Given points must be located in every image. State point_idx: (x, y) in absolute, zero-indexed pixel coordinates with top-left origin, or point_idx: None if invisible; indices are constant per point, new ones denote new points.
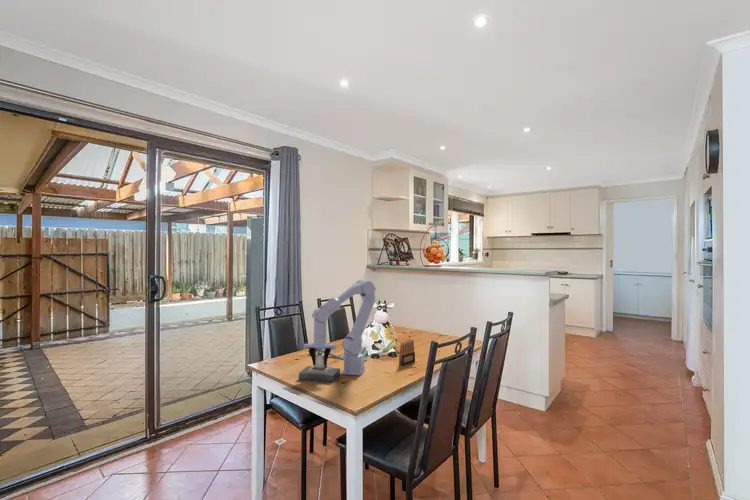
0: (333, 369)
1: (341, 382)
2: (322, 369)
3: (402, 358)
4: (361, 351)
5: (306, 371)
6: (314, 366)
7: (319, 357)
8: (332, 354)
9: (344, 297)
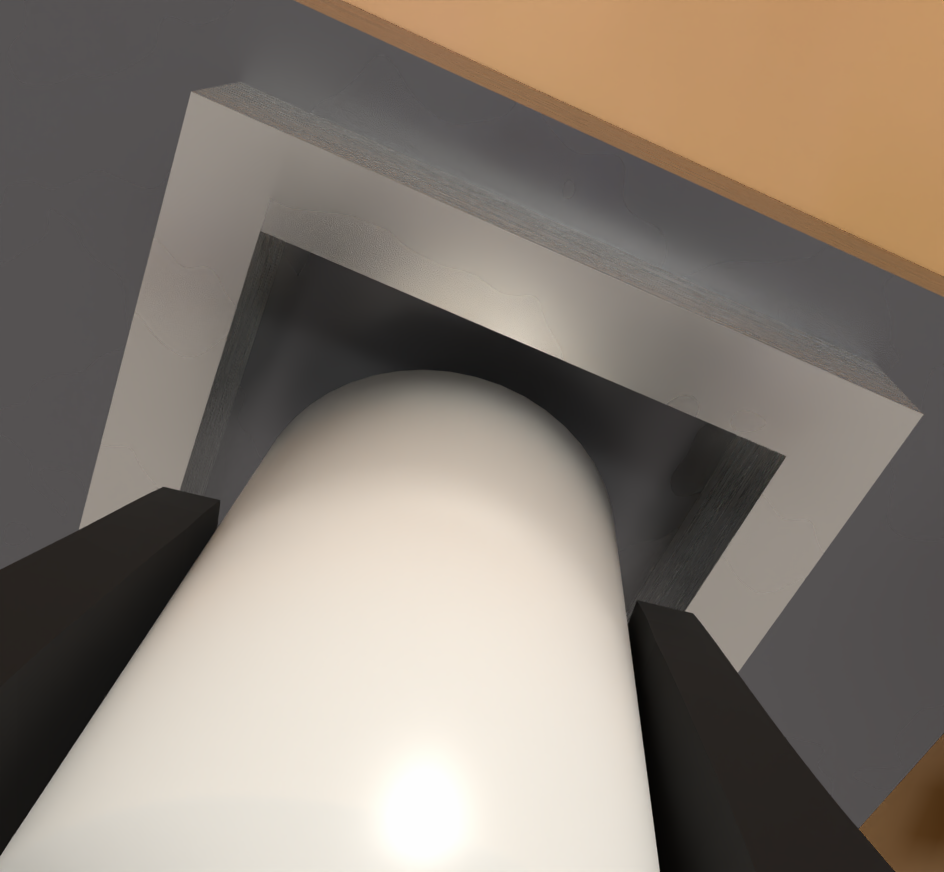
0: (931, 467)
1: (929, 801)
2: (533, 396)
3: None
4: None
5: (10, 489)
6: (205, 407)
7: None
8: None
9: None
